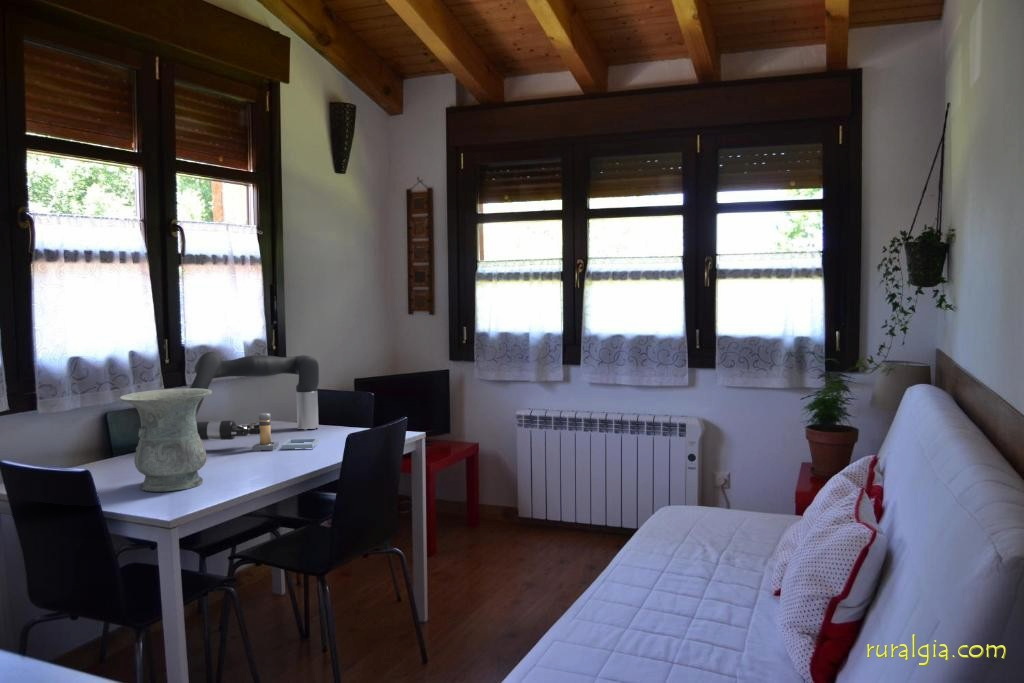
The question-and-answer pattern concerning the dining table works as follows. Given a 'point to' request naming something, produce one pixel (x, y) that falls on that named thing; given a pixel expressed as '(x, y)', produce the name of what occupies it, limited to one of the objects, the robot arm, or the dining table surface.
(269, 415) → the grey capped cylinder
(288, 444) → the parts tray
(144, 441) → the vessel
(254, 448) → the socket block
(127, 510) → the dining table surface
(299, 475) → the dining table surface
